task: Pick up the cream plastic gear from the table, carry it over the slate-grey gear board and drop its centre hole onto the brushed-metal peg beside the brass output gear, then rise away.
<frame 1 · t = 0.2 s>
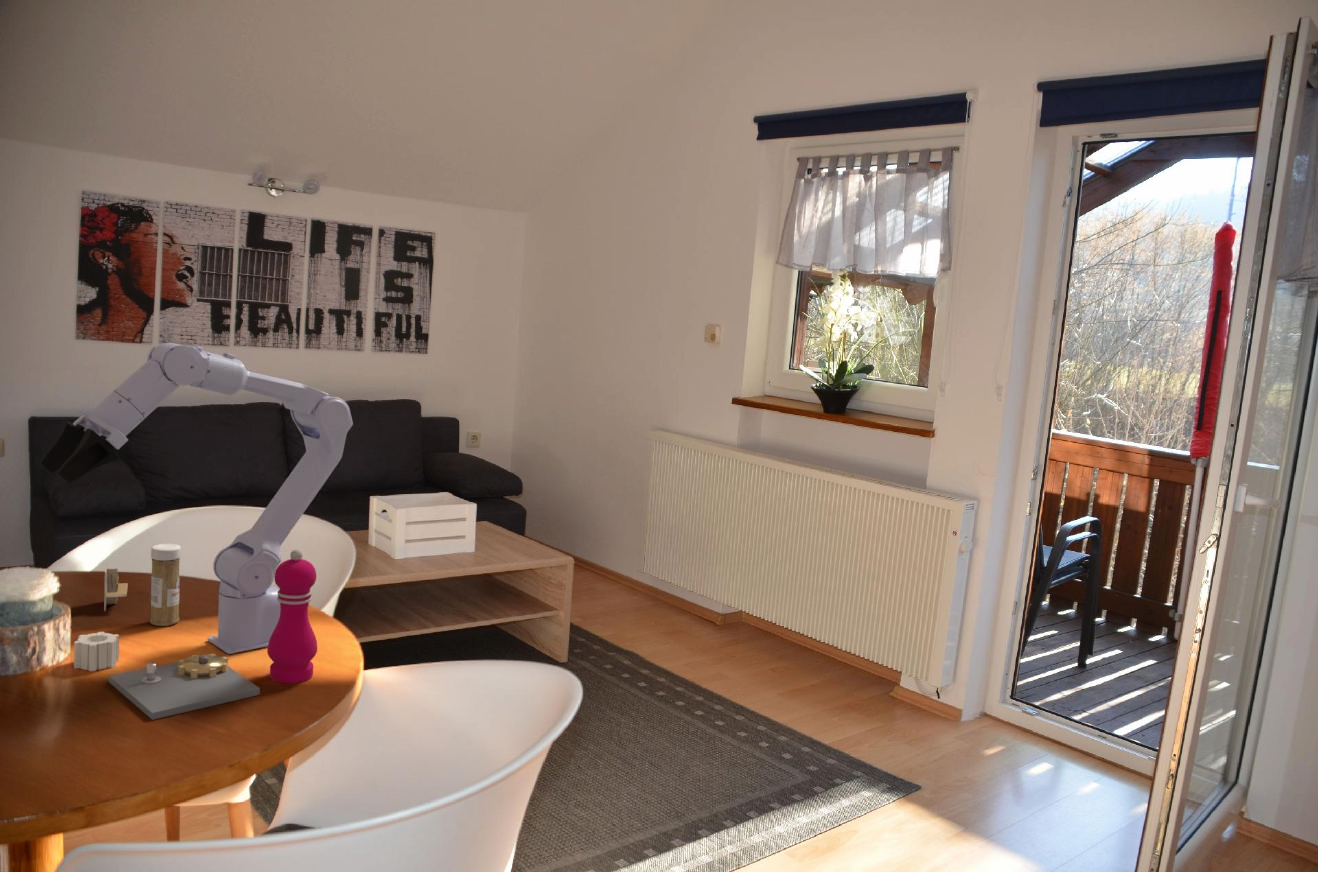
hand: (53, 473, 143), 30 cm above the table, tool tilted 45°, fingers open, 7 cm apart
pepper mill: (291, 677, 156), on the table
gear board: (184, 688, 148), on the table
sprinkles bottle: (164, 623, 174), on the table
architectural model: (111, 609, 180), on the table
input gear: (96, 663, 154), on the table
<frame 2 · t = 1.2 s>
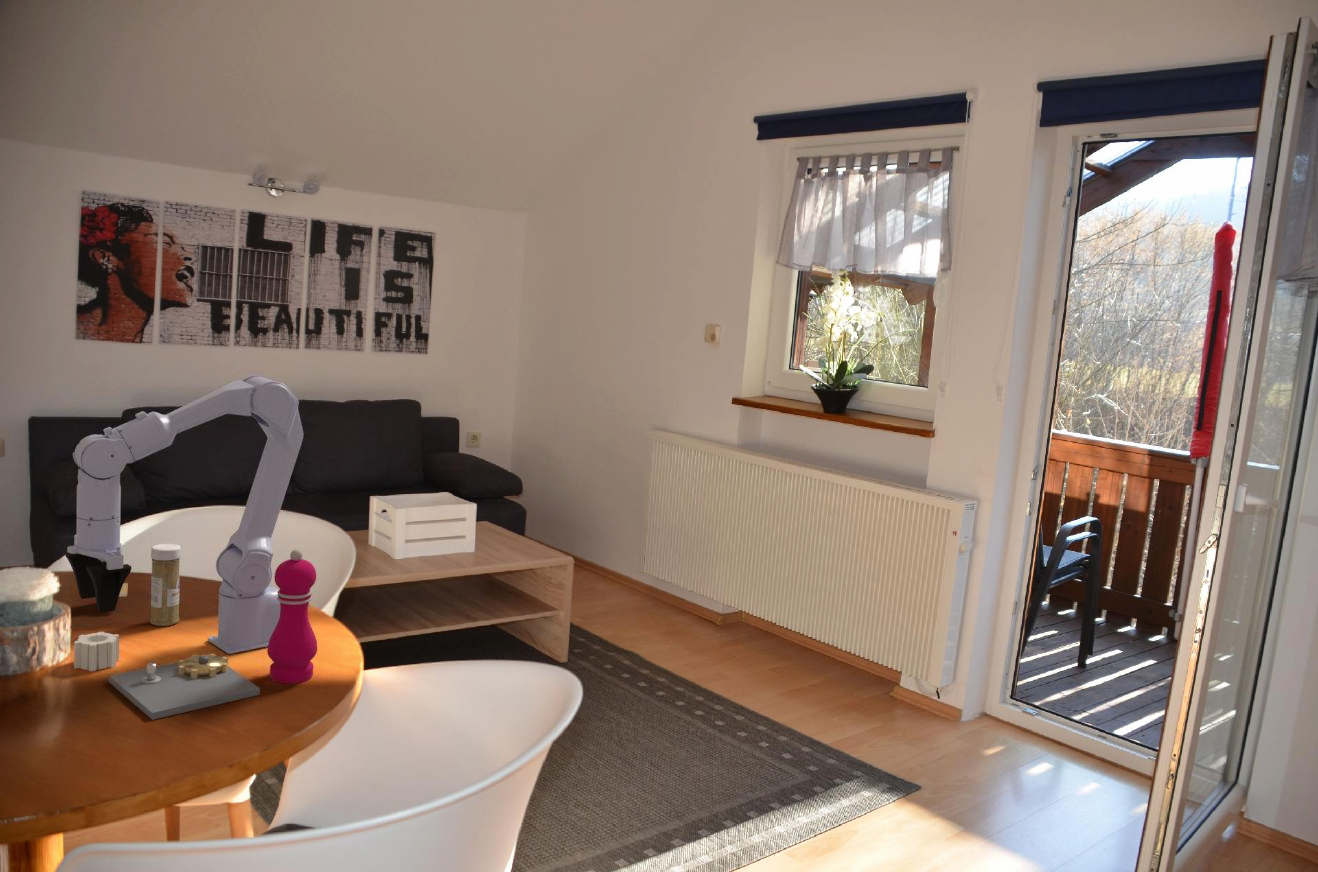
hand: (97, 604, 153), 9 cm above the table, tool pointing down, fingers open, 7 cm apart
nothing on the table moved.
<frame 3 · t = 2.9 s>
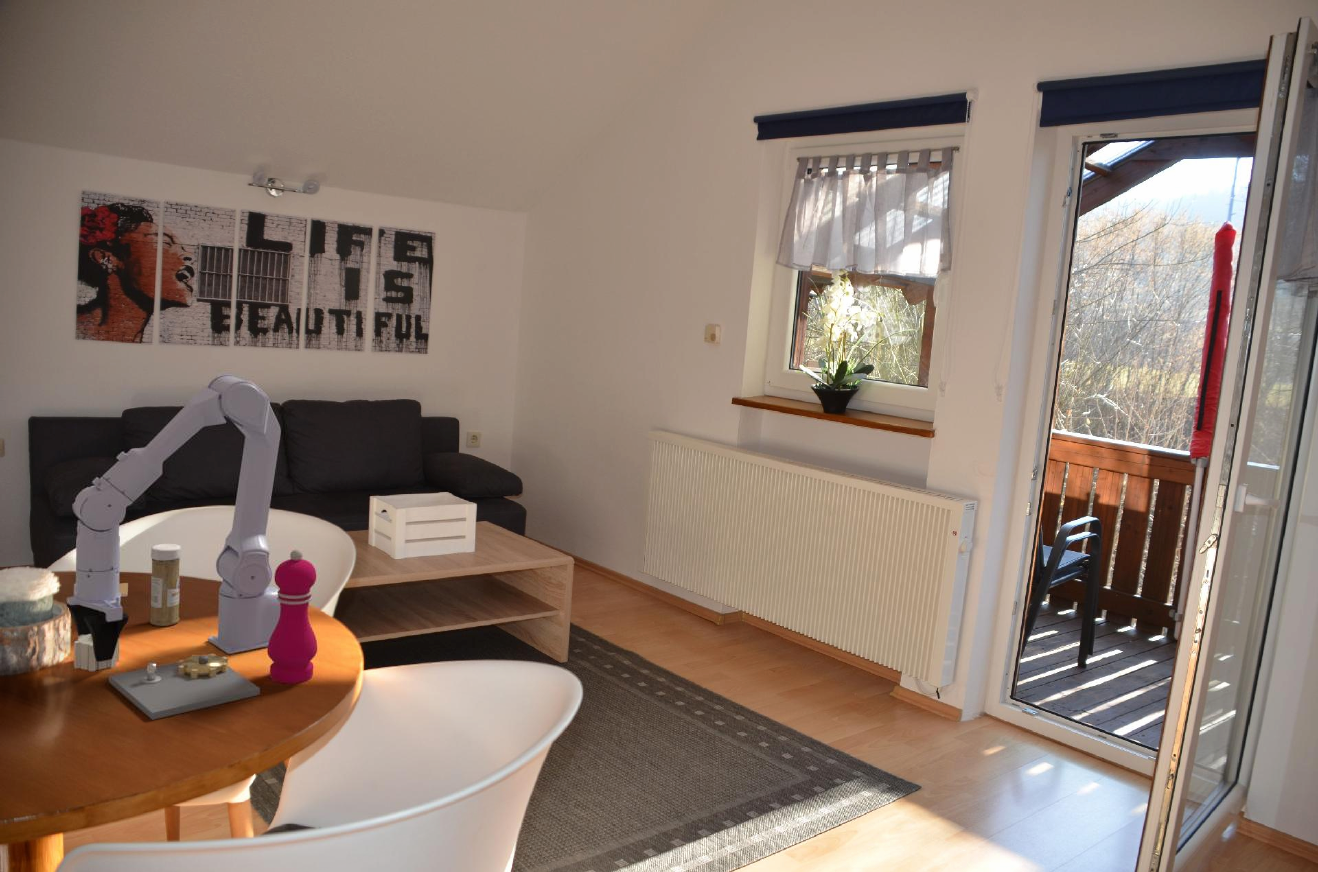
hand: (96, 653, 154), 2 cm above the table, tool pointing down, fingers closed on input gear, 6 cm apart
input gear: (96, 663, 154), on the table, touching gripper
everything else where it was.
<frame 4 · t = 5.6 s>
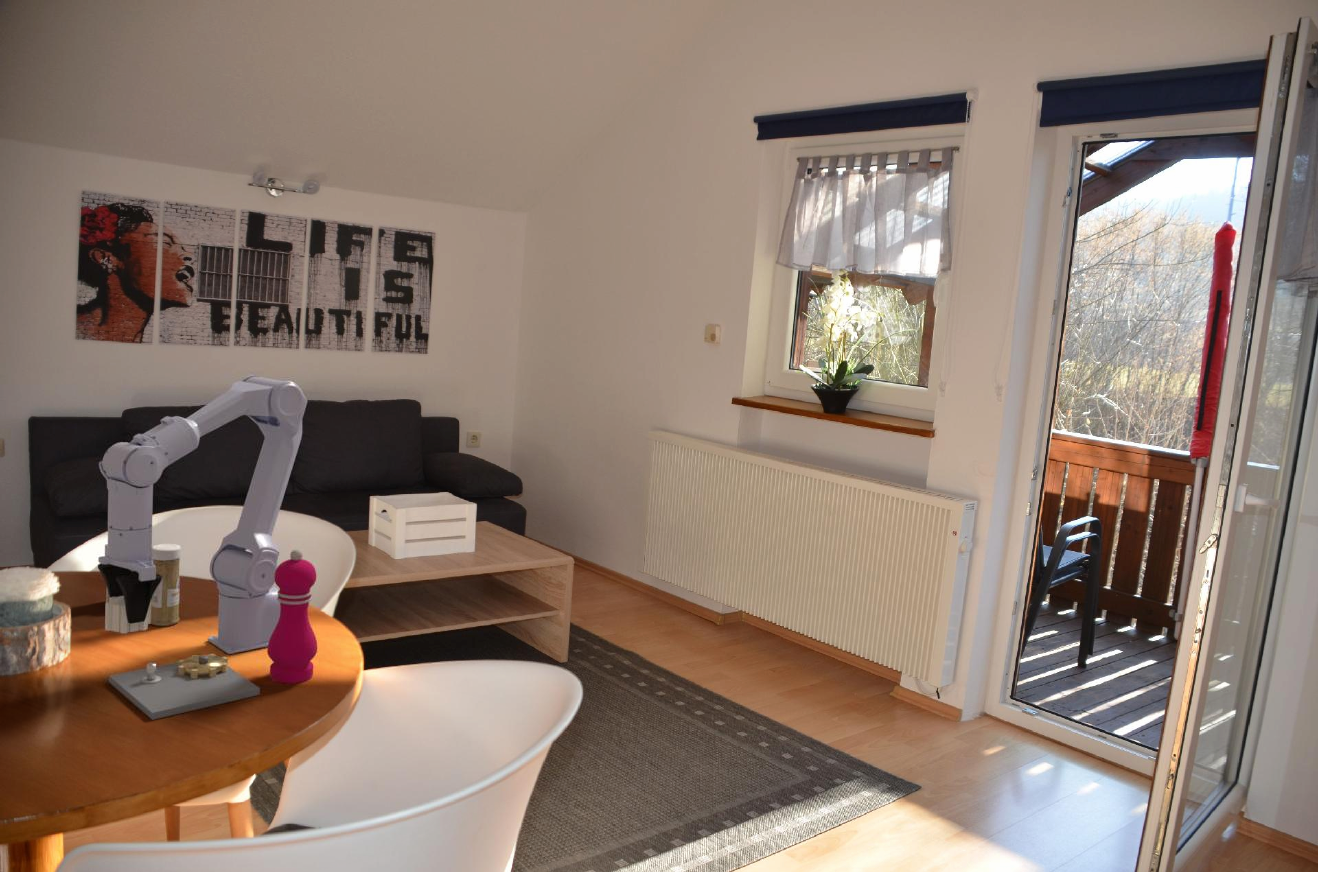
hand: (128, 615, 149), 9 cm above the table, tool pointing down, fingers closed on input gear, 6 cm apart
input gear: (128, 626, 149), point 8 cm above the table, touching gripper
everything else where it was.
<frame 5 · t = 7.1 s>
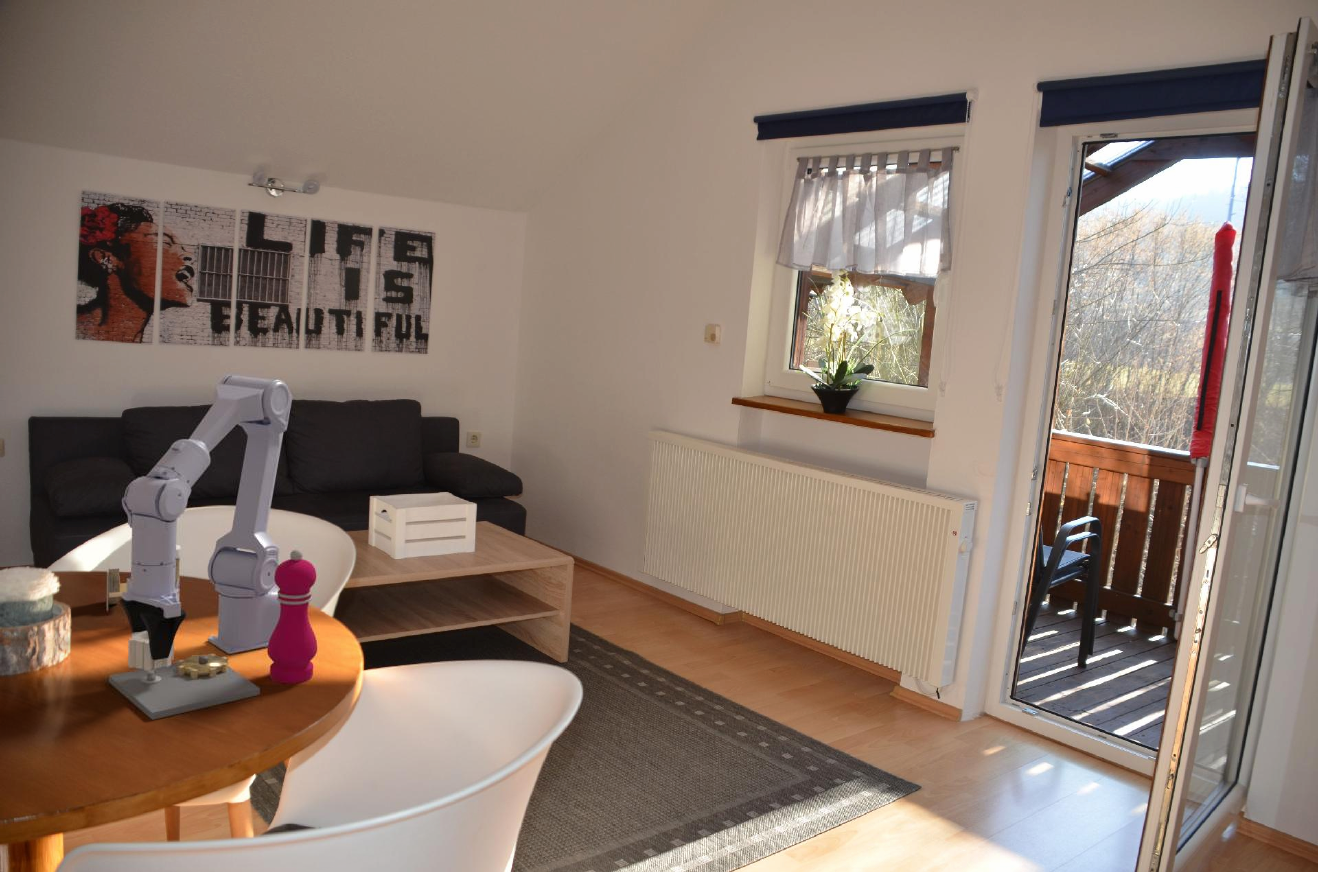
hand: (151, 651, 147), 5 cm above the table, tool pointing down, fingers closed on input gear, 6 cm apart
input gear: (151, 662, 147), point 4 cm above the table, touching gripper
everything else where it was.
when the fingers open (4 cm above the table, at t = 8.4 s): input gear drops 2 cm, resting on gear board.
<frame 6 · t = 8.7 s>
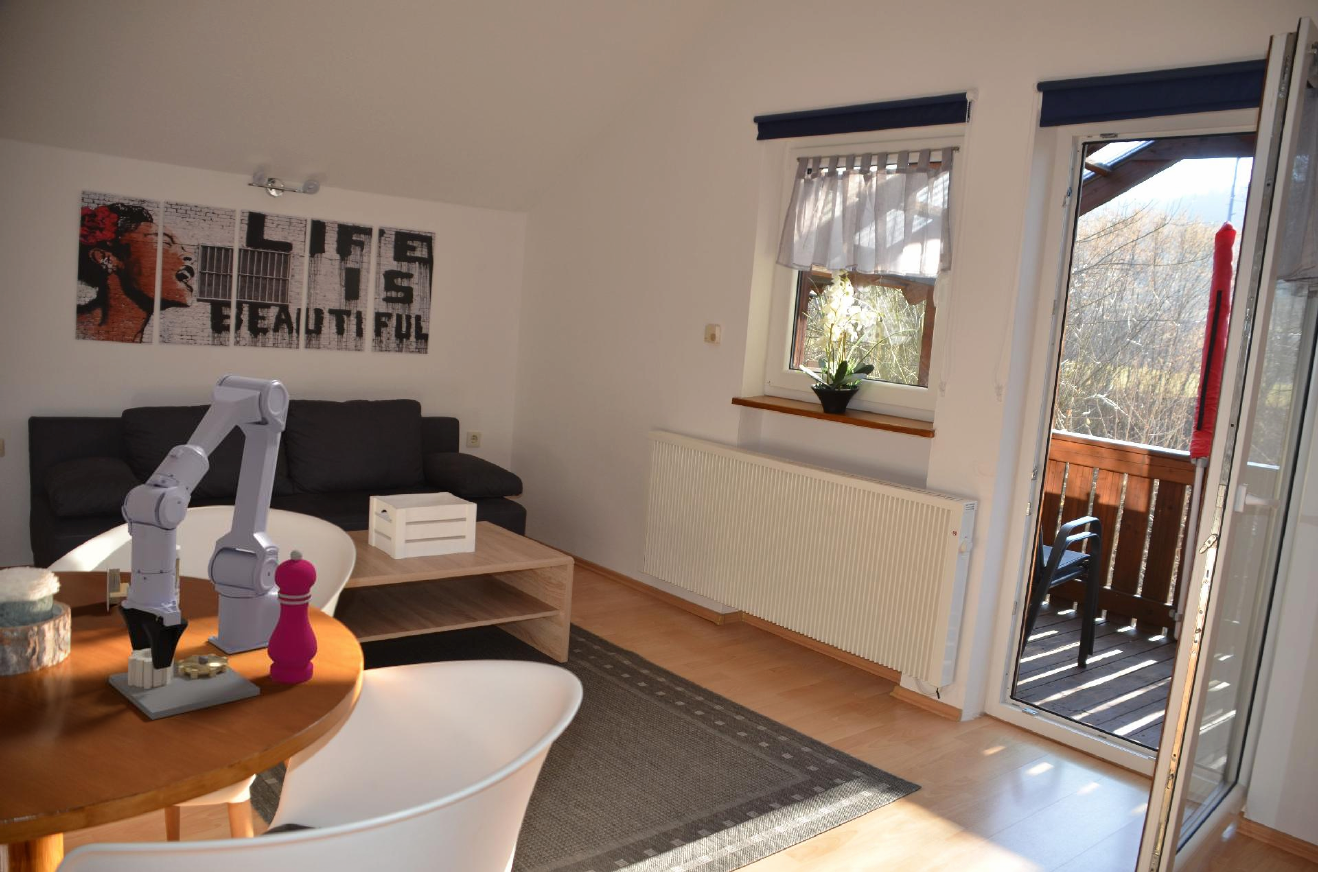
hand: (151, 659, 147), 4 cm above the table, tool pointing down, fingers open, 7 cm apart
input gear: (150, 680, 147), point 1 cm above the table, touching gear board
everything else where it was.
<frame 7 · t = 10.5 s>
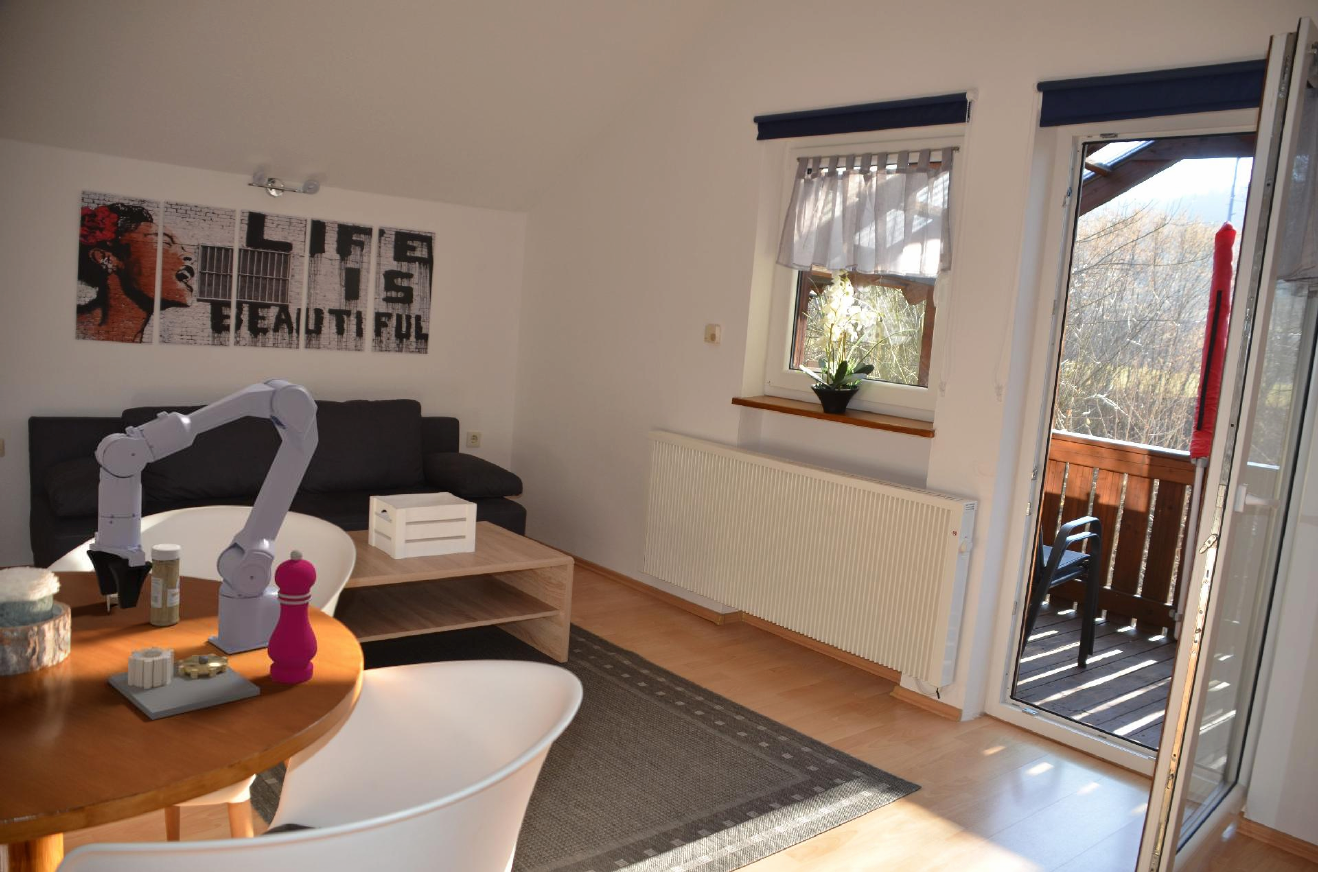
hand: (118, 600, 155), 9 cm above the table, tool pointing down, fingers open, 7 cm apart
nothing on the table moved.
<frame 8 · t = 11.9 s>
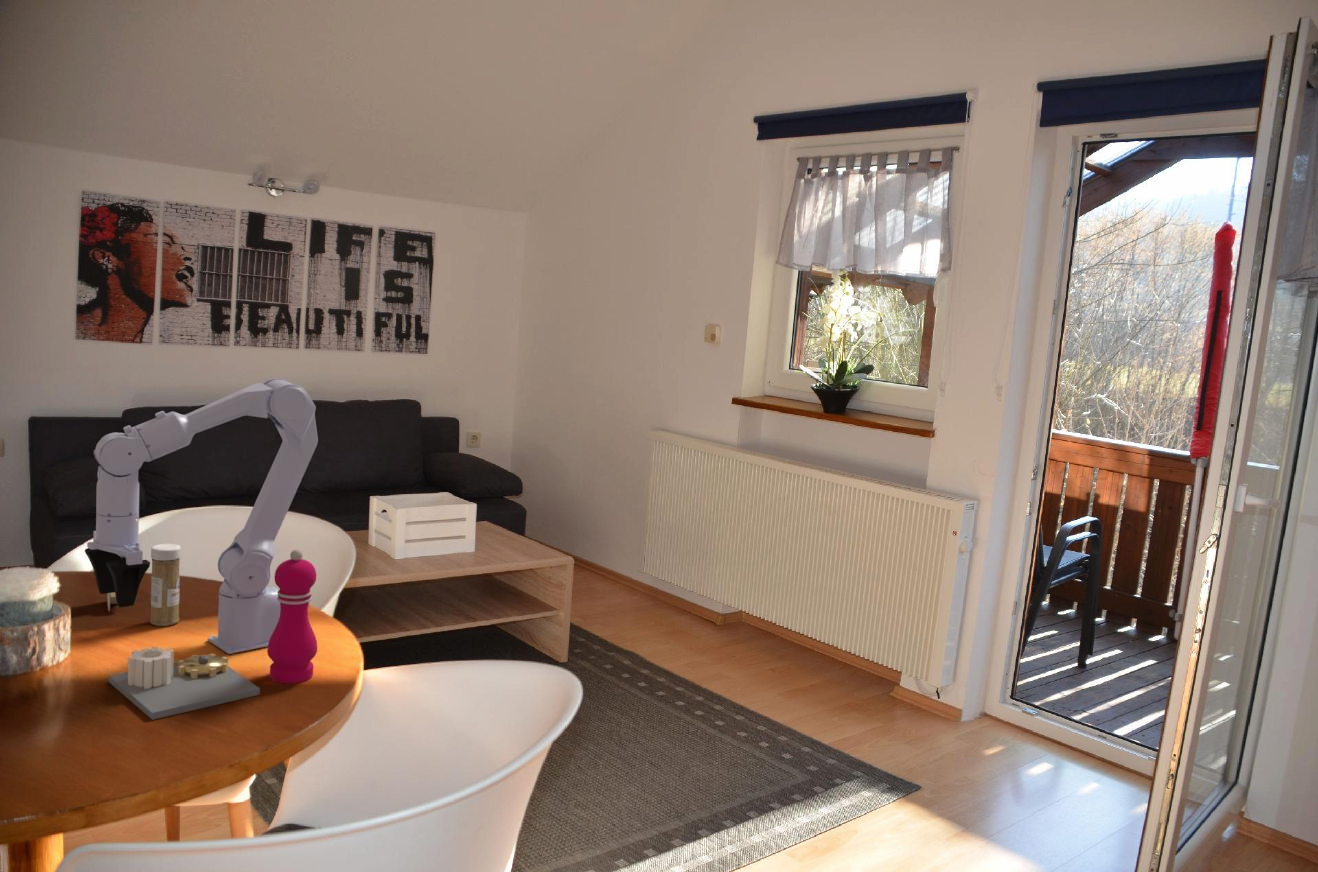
hand: (116, 599, 156), 9 cm above the table, tool pointing down, fingers open, 7 cm apart
nothing on the table moved.
at the end: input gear 0.1 cm from the target spot on the gear board, point 1.0 cm above the gear board's base; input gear tilted 0°; the gripper is holding nothing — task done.
